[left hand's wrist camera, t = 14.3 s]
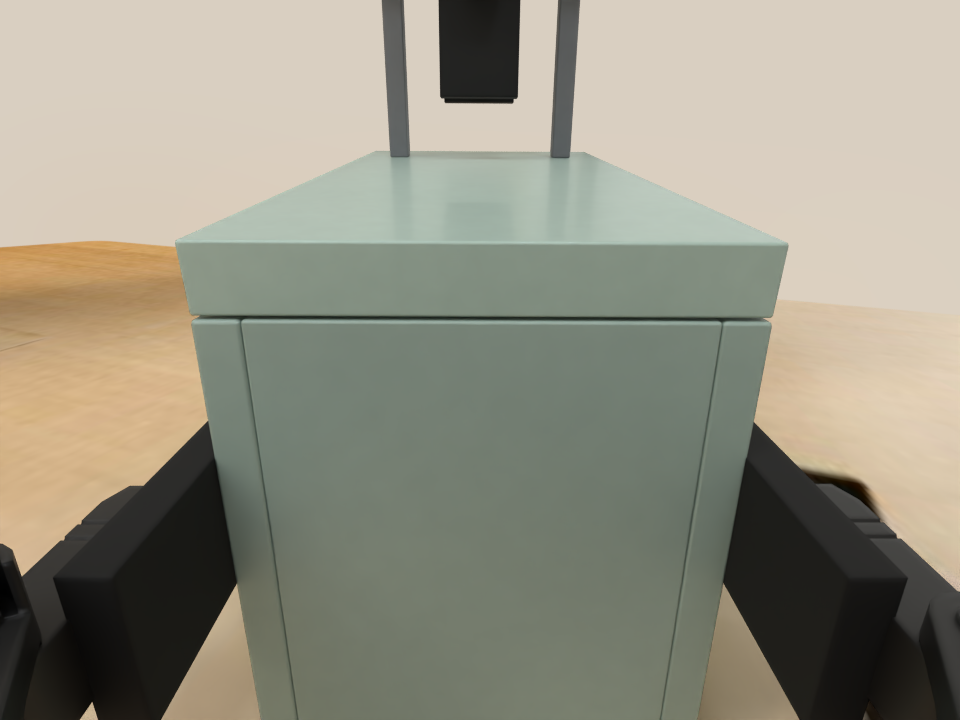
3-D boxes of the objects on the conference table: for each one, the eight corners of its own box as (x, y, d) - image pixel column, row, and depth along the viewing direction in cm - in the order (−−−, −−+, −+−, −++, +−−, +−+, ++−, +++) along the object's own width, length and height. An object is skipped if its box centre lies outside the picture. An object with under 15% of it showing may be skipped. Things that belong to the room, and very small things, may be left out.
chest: (386, 417, 29) (374, 209, 25) (570, 418, 29) (584, 210, 25) (267, 767, 13) (188, 320, 9) (689, 767, 13) (774, 322, 9)
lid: (376, 179, 26) (361, -48, 22) (582, 180, 26) (599, -47, 22) (189, 316, 9) (15, -500, 6) (773, 319, 9) (957, -492, 6)
